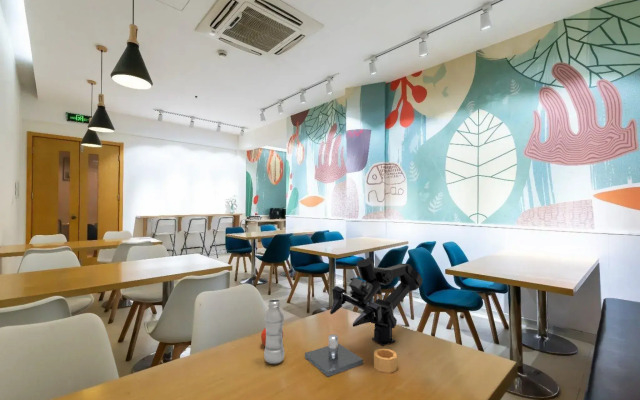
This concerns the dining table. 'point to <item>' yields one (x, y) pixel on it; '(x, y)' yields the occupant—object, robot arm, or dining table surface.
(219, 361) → the dining table surface
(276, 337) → the plastic bottle
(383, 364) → the collar
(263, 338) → the apple
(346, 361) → the piston stand
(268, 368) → the dining table surface
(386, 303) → the robot arm
